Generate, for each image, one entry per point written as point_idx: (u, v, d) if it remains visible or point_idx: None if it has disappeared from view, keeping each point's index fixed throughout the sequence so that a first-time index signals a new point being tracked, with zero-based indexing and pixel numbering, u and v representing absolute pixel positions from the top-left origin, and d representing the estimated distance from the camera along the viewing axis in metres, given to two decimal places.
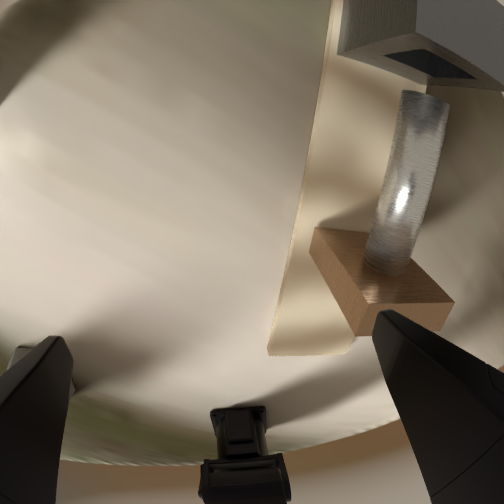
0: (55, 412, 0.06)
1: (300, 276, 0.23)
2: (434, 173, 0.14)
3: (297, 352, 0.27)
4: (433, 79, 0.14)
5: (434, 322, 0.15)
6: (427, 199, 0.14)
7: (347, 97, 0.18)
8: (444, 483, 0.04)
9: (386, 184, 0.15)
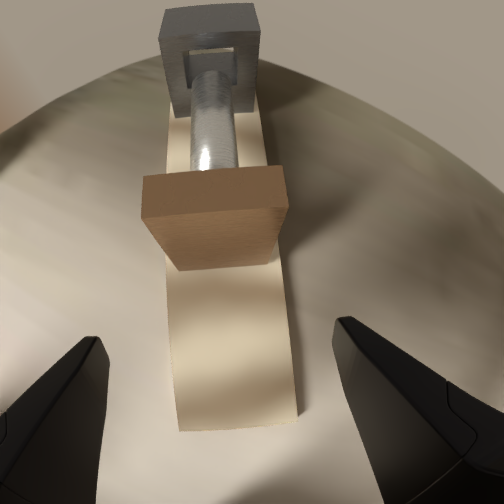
0: (95, 417, 0.06)
1: (181, 306, 0.20)
2: (223, 110, 0.17)
3: (217, 424, 0.18)
4: (240, 89, 0.23)
5: (264, 193, 0.12)
6: (224, 128, 0.17)
7: (188, 140, 0.24)
8: (400, 503, 0.04)
9: (190, 142, 0.18)
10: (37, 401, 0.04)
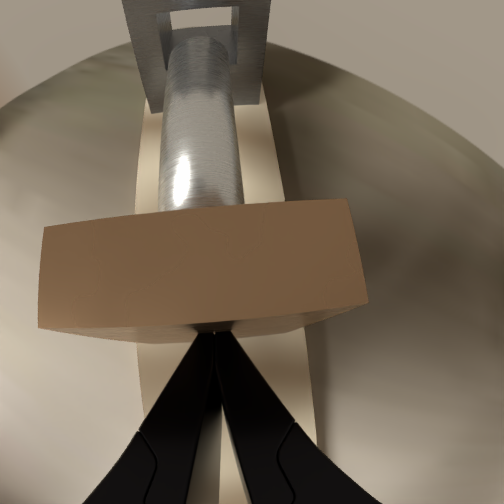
0: (219, 419, 0.06)
1: None
2: (215, 91, 0.10)
3: None
4: (242, 71, 0.15)
5: (314, 272, 0.05)
6: (216, 120, 0.09)
7: None
8: None
9: None
10: (181, 411, 0.05)
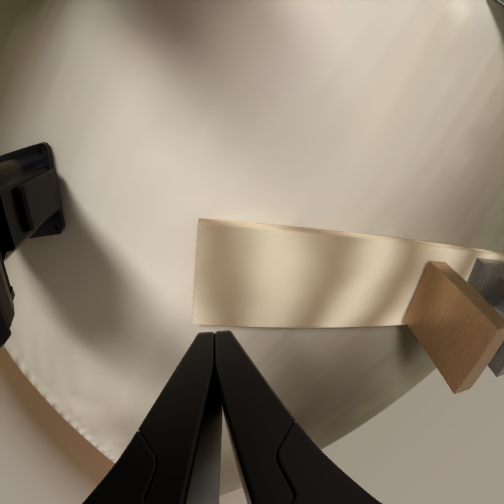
0: (219, 419, 0.06)
1: (325, 249, 0.21)
2: None
3: (202, 262, 0.20)
4: None
5: (465, 383, 0.16)
6: None
7: (454, 267, 0.23)
8: None
9: (500, 309, 0.19)
10: (181, 411, 0.05)
